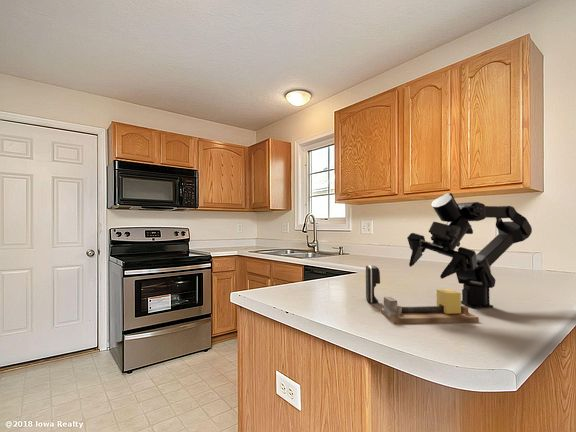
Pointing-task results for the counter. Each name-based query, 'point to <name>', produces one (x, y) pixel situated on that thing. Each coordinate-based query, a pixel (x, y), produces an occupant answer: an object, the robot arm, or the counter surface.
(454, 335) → the counter surface
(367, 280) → the black silver-edged device
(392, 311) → the sliding clamp fixture
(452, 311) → the pale yellow cube
